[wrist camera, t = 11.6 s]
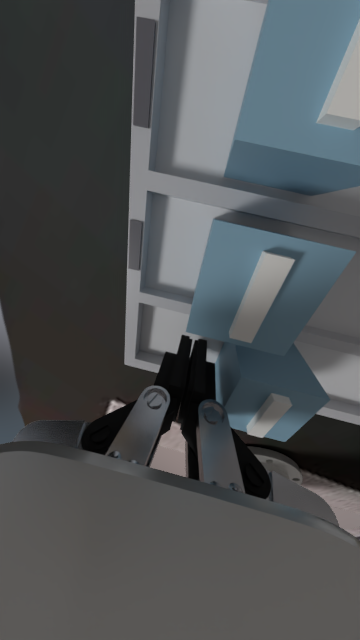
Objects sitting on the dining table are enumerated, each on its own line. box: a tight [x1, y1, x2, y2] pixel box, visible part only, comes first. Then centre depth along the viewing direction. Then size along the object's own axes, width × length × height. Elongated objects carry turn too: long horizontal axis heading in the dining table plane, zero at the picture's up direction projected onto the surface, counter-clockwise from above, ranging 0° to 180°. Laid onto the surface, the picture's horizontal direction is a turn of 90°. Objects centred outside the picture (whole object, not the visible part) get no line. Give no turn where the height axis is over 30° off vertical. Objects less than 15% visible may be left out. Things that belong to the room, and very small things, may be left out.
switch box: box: [125, 0, 360, 425], centre depth 10 cm, size 18×20×3 cm
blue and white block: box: [224, 0, 360, 196], centre depth 5 cm, size 4×4×5 cm
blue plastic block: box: [215, 342, 330, 442], centre depth 11 cm, size 4×4×5 cm
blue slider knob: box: [186, 218, 356, 356], centre depth 8 cm, size 4×4×5 cm
